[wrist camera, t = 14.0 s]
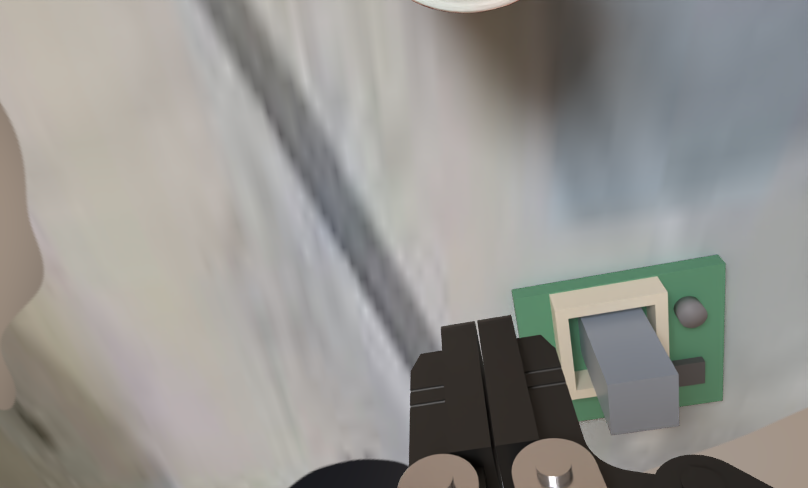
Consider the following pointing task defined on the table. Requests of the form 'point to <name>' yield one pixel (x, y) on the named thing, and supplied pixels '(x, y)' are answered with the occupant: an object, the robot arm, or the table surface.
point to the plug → (629, 371)
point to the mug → (465, 5)
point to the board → (665, 310)
